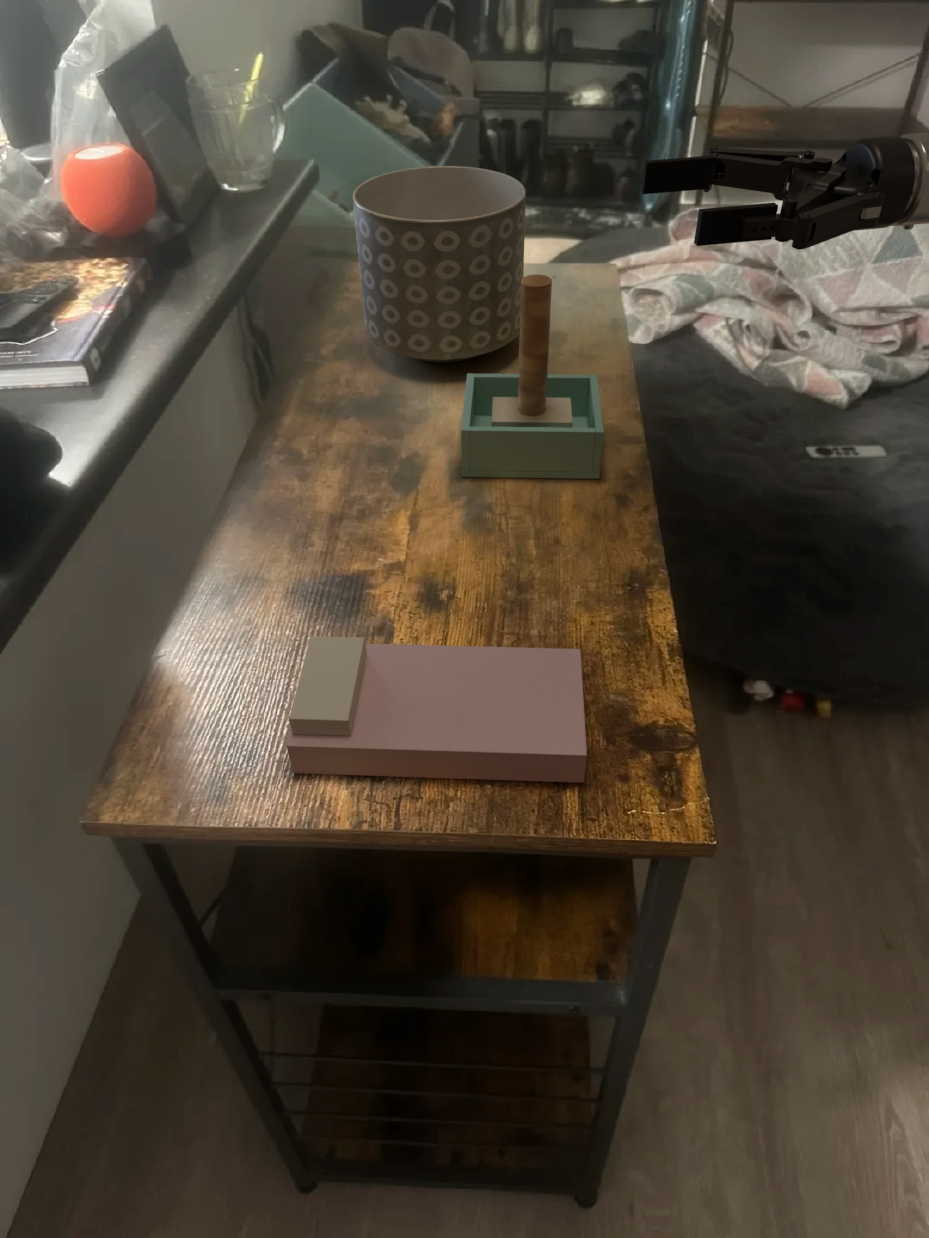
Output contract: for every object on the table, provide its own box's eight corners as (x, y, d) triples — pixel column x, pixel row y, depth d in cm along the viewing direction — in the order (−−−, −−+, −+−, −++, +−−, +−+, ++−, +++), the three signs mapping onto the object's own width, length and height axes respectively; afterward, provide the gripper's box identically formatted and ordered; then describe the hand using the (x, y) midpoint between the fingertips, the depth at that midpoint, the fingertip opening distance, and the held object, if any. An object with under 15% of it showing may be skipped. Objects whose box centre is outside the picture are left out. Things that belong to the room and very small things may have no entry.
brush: (568, 428, 92) (579, 269, 81) (570, 453, 89) (582, 291, 78) (492, 427, 93) (493, 269, 82) (491, 452, 89) (491, 291, 78)
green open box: (593, 419, 95) (597, 374, 92) (599, 479, 87) (604, 432, 83) (467, 418, 96) (467, 373, 92) (461, 477, 87) (460, 430, 84)
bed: (577, 676, 67) (582, 632, 64) (583, 783, 60) (589, 739, 57) (318, 669, 68) (310, 626, 65) (292, 773, 61) (282, 730, 58)
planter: (524, 316, 115) (528, 166, 103) (518, 386, 101) (522, 221, 89) (380, 313, 116) (368, 165, 104) (355, 382, 102) (337, 219, 90)
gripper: (959, 276, 73) (716, 300, 70) (817, 184, 91) (620, 200, 89) (994, 179, 68) (734, 201, 65) (837, 102, 86) (628, 117, 83)
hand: (668, 201), depth 77 cm, fingers open, 13 cm apart
